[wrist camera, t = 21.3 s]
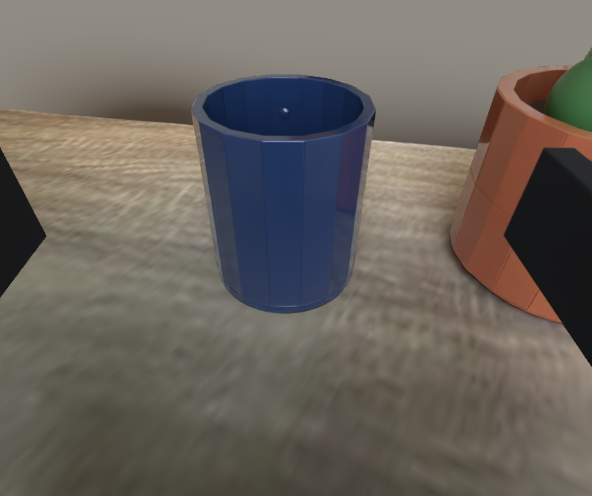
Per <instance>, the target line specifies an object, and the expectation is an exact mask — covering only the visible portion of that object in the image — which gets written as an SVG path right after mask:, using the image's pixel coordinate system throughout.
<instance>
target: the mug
mask: <svg viewBox="0 0 592 496" xmlns="http://www.w3.org/2000/svg"><path fill="white" fill-rule="evenodd" d="M191 112H192V118H193V124H194V130H195V136H196V142H197V148H198V154H199V160H200V166H201V172H202V178H203V184H204V190H205V196H206V202H207V208H208V214H209V220H210V226H211V232H212V238H213V244H214V250H215V256H216V262H217V266H218V268H219V273H220V277H221V280H222V282H223V284H224V286H225V287H226V289H227V290H228V291H229V292H230V293H231V294H232V295H233V296H234V297H235V298H236V299H238V300H239V301H241V302H242V303H244V304H246V305H248V306H250V307H253V308H255V309H258V310H262V311H266V312H273V313H297V312H303V311H308V310H311V309H315V308H317V307H320V306H322V305H324V304H326V303H328V302H330V301H331V300H332V299H334V298H335V297H337V296H338V295H339V294H340V293H341V292H342V291H343V289H344V288H345V287H346V285H347V283H348V281H349V279H350V276H351V272H352V268H353V265H354V260H355V253H356V246H357V239H358V232H359V225H360V218H361V211H362V204H363V197H364V190H365V183H366V176H367V169H368V162H369V155H370V148H371V141H372V134H373V126H374V120H375V113H376V108H375V106H374V104H373V102H372V100H371V97H370V96H369V95H367V94H365V93H364V92H362V91H361V90H359V89H357V88H356V87H354V86H351V85H349V84H345V83H342V82H339V81H335V80H332V79H327V78H321V77H314V76H306V75H262V76H254V77H246V78H239V79H236V80H232V81H228V82H225V83H221V84H218V85H215V86H213V87H212V88H210V89H208V90H206V91H205V92H203V93H201V94H199V95H198V96H197V98H196V100H195V102H194V104H193V106H192V108H191Z"/></svg>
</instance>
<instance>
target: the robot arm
mask: <svg viewBox="0 0 592 496" xmlns="http://www.w3.org/2000/svg"><path fill="white" fill-rule="evenodd" d="M503 236H504V237H505V239H506V240H507V242H508V243H509V245H510V246H511V248H512V249H513V251H514V252H515V254H516V255H517V257H518V258H519V260H520V261H521V263H522V264H523V266H524V267H525V269H526V270H527V272H528V273H529V275H530V276H531V278H532V279H533V281H534V282H535V284H536V285H537V286H538V288H539V289H540V291H541V292H542V294H543V295H544V297H545V298H546V300H547V301H548V303H549V304H550V306H551V307H552V309H553V310H554V312H555V313H556V315H557V316H558V318H559V319H560V321H561V322H562V324H563V325H564V327H565V328H566V330H567V331H568V333H569V334H570V335H571V337H572V338H573V340H574V341H575V343H576V344H577V346H578V347H579V349H580V350H581V352H582V353H583V355H584V356H585V358H586V359H587V361H588V362H589V364H590V365H591V367H592V162H591V161H590V160H589V159H588V158H586V157H585V156H584V155H583V154H582V153H580V152H579V151H578V150H577V149H575V148H543V150H542V152H541V154H540V157H539V159H538V161H537V163H536V165H535V167H534V170H533V172H532V174H531V176H530V178H529V180H528V183H527V185H526V187H525V189H524V191H523V193H522V196H521V198H520V200H519V202H518V204H517V207H516V209H515V211H514V213H513V215H512V217H511V220H510V222H509V224H508V226H507V228H506V230H505V233H504V235H503ZM45 237H46V234H45V232H44V230H43V228H42V226H41V225H40V223H39V221H38V219H37V217H36V215H35V213H34V211H33V209H32V207H31V205H30V203H29V202H28V200H27V198H26V196H25V194H24V192H23V190H22V188H21V186H20V184H19V182H18V180H17V179H16V177H15V175H14V173H13V171H12V169H11V167H10V165H9V163H8V161H7V159H6V157H5V156H4V154H3V152H2V150H1V148H0V297H1V296H2V295H3V293H4V292H5V291H6V289H7V288H8V287H9V285H10V284H11V283H12V281H13V280H14V279H15V277H16V276H17V275H18V273H19V272H20V271H21V269H22V268H23V267H24V265H25V264H26V263H27V261H28V260H29V259H30V257H31V256H32V255H33V253H34V252H35V251H36V249H37V248H38V247H39V245H40V244H41V243H42V241H43V240H44V239H45Z"/></svg>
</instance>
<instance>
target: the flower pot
mask: <svg viewBox="0 0 592 496" xmlns="http://www.w3.org/2000/svg"><path fill="white" fill-rule="evenodd" d="M571 67H573V66H571V65H570V66H541V67H535V68H529V69H523V70H517V71H515V72H513V73H510V74H508V75H506V76H504V77H502V79H501V80H500V83H499V85H498V87H497V89H496V92H495V95H494V98H493V101H492V104H491V107H490V110H489V113H488V116H487V119H486V122H485V125H484V128H483V131H482V134H481V137H480V140H479V143H478V146H477V149H476V152H475V155H474V158H473V161H472V164H471V167H470V170H469V173H468V176H467V179H466V182H465V185H464V188H463V191H462V194H461V197H460V200H459V203H458V206H457V209H456V212H455V215H454V218H453V221H452V224H451V227H450V230H449V231H450V237H451V243H452V248H453V250H454V252H455V253H456V255H457V256H458V258H459V259H460V261H461V262H462V264H463V265H464V267H465V268H466V269H467V271H468V272H470V273H471V274H472V275H473V276H474V277H475V278H477V279H478V280H479V281H480V282H481V283H482V284H483V285H484V286H485V287H486V288H488V289H489V290H490V291H491V292H493V293H494V294H496V295H497V296H499V297H500V298H501V299H503V300H505V301H506V302H508V303H510V304H512V305H513V306H515V307H517V308H519V309H522V310H524V311H526V312H528V313H531V314H533V315H536V316H538V317H541V318H544V319H547V320H551V321H554V322H558V323H562V322H561V321H560V319H559V318H558V316H557V315H556V313H555V312H554V310H553V309H552V307H551V306H550V304H549V303H548V301H547V300H546V298H545V297H544V295H543V294H542V292H541V291H540V289H539V288H538V286H537V285H536V284H535V282H534V281H533V279H532V278H531V276H530V275H529V273H528V272H527V270H526V269H525V267H524V266H523V264H522V263H521V261H520V260H519V258H518V257H517V255H516V254H515V252H514V251H513V249H512V248H511V246H510V245H509V243H508V242H507V240H506V239H505V237H504V236H503V235H504V233H505V230H506V228H507V226H508V224H509V222H510V220H511V217H512V215H513V213H514V211H515V209H516V207H517V204H518V202H519V200H520V198H521V196H522V193H523V191H524V189H525V187H526V185H527V183H528V180H529V178H530V176H531V174H532V172H533V170H534V167H535V165H536V163H537V161H538V159H539V157H540V154H541V152H542V150H543V148H575V149H577V150H578V151H579V152H580V153H582V154H583V155H584V156H585V157H586V158H588V159H589V160H590V161H591V162H592V132H590V131H586V130H583V129H579V128H576V127H574V126H571V125H569V124H567V123H564V122H562V121H559V120H557V119H554V118H552V117H549V116H547V115H545V114H542V113H540V112H539V111H537V110H535V109H534V108H532V107H531V106H529V104H531V103H534V102H536V101H540V100H545V99H547V97H548V94H549V92H550V90H551V89H552V87H553V86H554V84H555V83H556V82H557V80H558V79H559V78H560V77H561V76H562V75H563V74H564V73H565V72H566V71H567V70H569V69H570V68H571Z"/></svg>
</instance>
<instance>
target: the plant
mask: <svg viewBox="0 0 592 496" xmlns="http://www.w3.org/2000/svg"><path fill="white" fill-rule="evenodd" d="M529 106H531V107H532V108H534V109H535V110H537V111H539V112H540V113H542V114H545V115H547V116H549V117H552V118H554V119H557V120H559V121H562V122H564V123H567V124H569V125H571V126H574V127H576V128H579V129H583V130H586V131H590V132H592V48H591V49H590V51H589V52H588V54H587V55H586V57H585V59H584V60H583V61H581V62H579V63H577V64H576V65H574V66H573V67H571V68H570V69H569V70H567V71H566V72H565V73H564V74H563V75H562V76H561V77H560V78H559V79H558V80H557V82H556V83H555V84H554V86H553V87H552V89H551V90H550V92H549V94H548V97H547V99H545V100H540V101H536V102H534V103H531V104H529Z"/></svg>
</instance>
